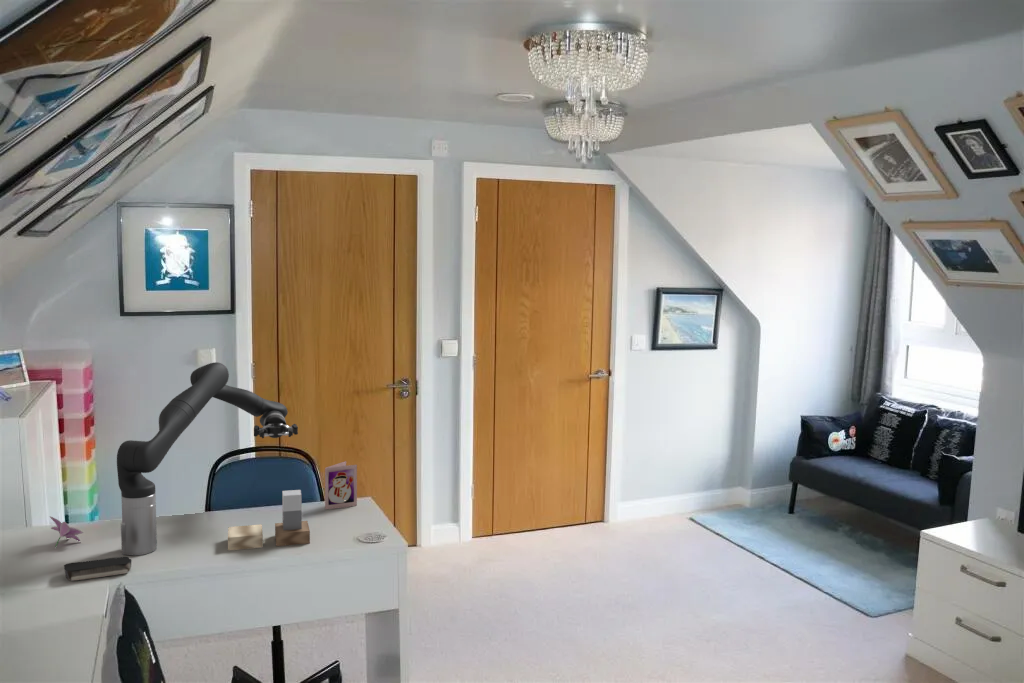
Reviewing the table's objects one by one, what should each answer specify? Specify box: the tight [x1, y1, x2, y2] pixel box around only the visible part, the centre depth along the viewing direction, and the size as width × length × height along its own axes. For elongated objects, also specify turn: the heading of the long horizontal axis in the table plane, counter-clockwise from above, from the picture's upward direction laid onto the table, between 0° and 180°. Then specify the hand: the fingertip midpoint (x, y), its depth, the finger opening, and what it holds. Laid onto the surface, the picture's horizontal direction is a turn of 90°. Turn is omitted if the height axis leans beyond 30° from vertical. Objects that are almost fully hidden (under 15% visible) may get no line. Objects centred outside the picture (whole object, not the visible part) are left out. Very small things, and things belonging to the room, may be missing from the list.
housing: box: [281, 489, 303, 530], centre depth 252 cm, size 6×6×11 cm
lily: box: [48, 516, 84, 547], centre depth 244 cm, size 11×11×9 cm
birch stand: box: [227, 524, 264, 551], centre depth 248 cm, size 10×10×4 cm
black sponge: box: [63, 556, 133, 582], centre depth 222 cm, size 16×8×4 cm, turn 116°
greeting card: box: [324, 460, 358, 510], centre depth 288 cm, size 11×7×15 cm, turn 118°
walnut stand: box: [274, 520, 311, 547], centre depth 253 cm, size 10×10×4 cm
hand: (276, 434), depth 265 cm, fingers open, 8 cm apart
